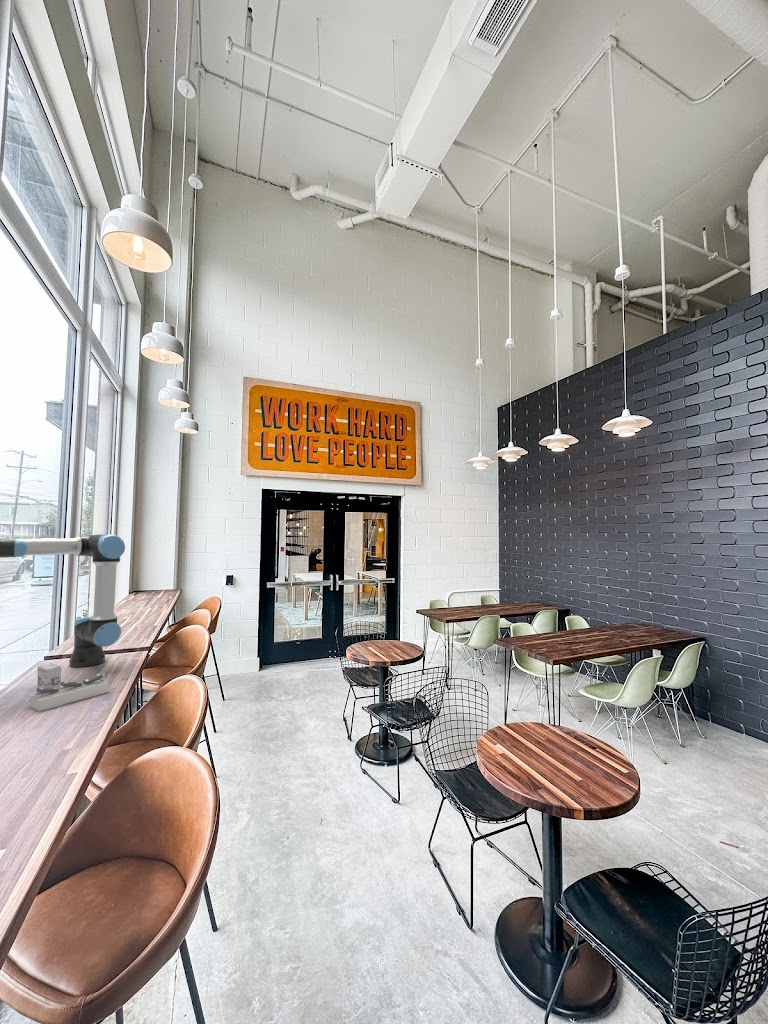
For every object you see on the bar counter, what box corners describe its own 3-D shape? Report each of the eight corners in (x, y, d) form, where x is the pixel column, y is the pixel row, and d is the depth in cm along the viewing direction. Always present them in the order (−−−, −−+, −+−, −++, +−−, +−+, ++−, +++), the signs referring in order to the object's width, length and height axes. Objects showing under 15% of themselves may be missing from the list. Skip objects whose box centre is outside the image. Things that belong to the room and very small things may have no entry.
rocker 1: (53, 690, 173) (54, 687, 173) (57, 692, 171) (59, 688, 171) (36, 691, 168) (37, 687, 168) (40, 693, 166) (41, 689, 166)
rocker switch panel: (98, 688, 188) (98, 677, 188) (108, 692, 184) (108, 680, 184) (29, 706, 168) (30, 694, 168) (38, 711, 163) (39, 698, 164)
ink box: (35, 695, 179) (37, 665, 180) (49, 691, 184) (51, 662, 184) (47, 699, 175) (48, 668, 176) (61, 695, 180) (62, 665, 180)
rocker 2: (76, 684, 179) (77, 681, 180) (81, 686, 177) (82, 683, 178) (60, 685, 174) (61, 681, 175) (64, 687, 172) (65, 683, 173)
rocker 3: (98, 675, 186) (98, 672, 186) (103, 677, 184) (102, 674, 184) (83, 683, 181) (82, 680, 181) (87, 684, 179) (86, 681, 179)
